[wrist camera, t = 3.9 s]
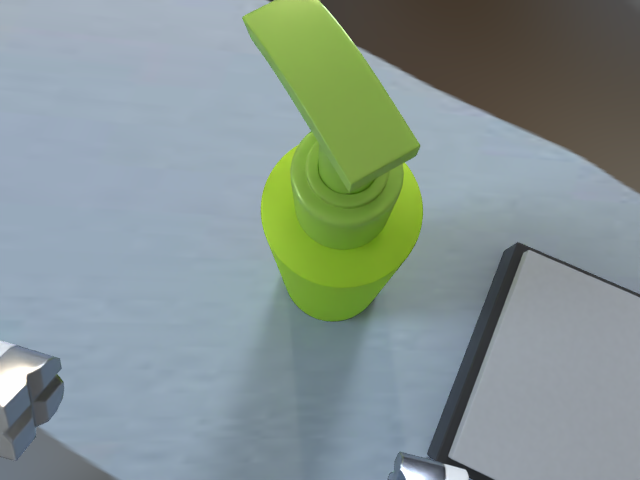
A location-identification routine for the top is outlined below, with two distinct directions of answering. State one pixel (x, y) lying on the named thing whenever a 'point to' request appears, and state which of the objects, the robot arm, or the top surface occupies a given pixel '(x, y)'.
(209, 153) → the top surface
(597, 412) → the kitchen scale
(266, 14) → the soap dispenser
